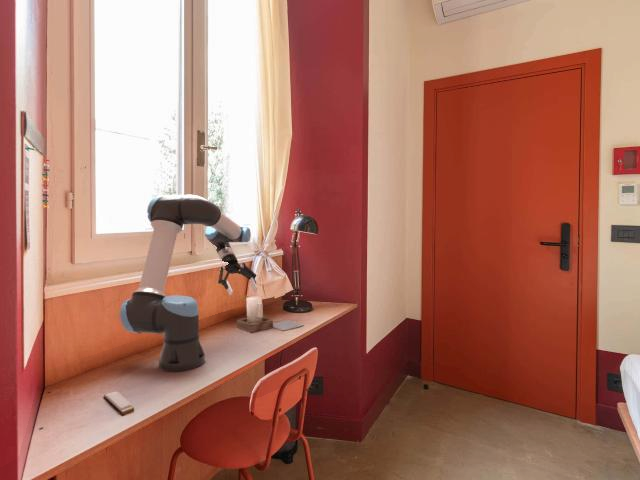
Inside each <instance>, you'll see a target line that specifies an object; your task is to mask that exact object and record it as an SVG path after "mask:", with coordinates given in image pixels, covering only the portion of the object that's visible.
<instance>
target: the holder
mask: <svg viewBox="0 0 640 480" xmlns="http://www.w3.org/2000/svg"><path fill="white" fill-rule="evenodd" d="M273 324H274V320H273V319H271V318H268V317H266V316H263V317H262V322H259V323H255V324H249V323H247V317H244V318H240V319H236V327H237V328H238V329H240V330H243V331H244V332H247V333H249V334H251V333H256V332H260V331H264V330H268V329H273Z"/></svg>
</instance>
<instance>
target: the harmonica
mask: <svg viewBox="0 0 640 480" xmlns="http://www.w3.org/2000/svg"><path fill="white" fill-rule="evenodd" d="M102 398H103V399H104V400H105V401H106V402H107V403H108V404H109V405H110V406H111V407H112V408H113V409H114V410H115V411H116V412H117V413H118V414H120V416H122V417H123V416H125V415H129V414H131V413H134V412H135V408H134V407H133V406H132V404H131V402H130V401H129V400H128V399H127V398H125V397H124V396H123V395H122V394H121V393H120V392H118V391H112V392H109V393H106V394H104V395H103V397H102Z"/></svg>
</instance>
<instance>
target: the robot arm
mask: <svg viewBox="0 0 640 480" xmlns="http://www.w3.org/2000/svg"><path fill="white" fill-rule="evenodd" d="M146 213H147V218H148V221H149V222H150V225H151V228H153V230H152V231H153V232H152V234H151V239H150V243H149V245H148V246H149V247H148V251H147V254H146V258H145V263H144V266H143V270H142V275H141V278H140V282H139V285H138V286H139V287H138V288H137V289H135V290H134V291H133V292H132V294H131V297H130V298H129V299H127V300H125V301H124V302H123V303H122V305H121V307H120V310H119V319H120V322H121V325H122V327H123V328H124V329H125V330H126V331H127V332H129V333H136V334H158V335H159V334H161V335H163V345H162V349H161V351H160V356H159V360H158V367H159V369H161V370H162V371H165V372H184V371H189V370H192V369H195V368H198V367H200V366H202V365H203V364H204V363H205V360H206V359H205V358H206V357H205V356H206V354H205V352H204V349H203V346H202V344H201V341H200V329H199V328H200V327H199V325H200V324H199V322H200V320H199V319H200V318H199V313H200V310H199V305H198V300H196V299H195V298H193V297H191V296H187V295H166V293H165V292H164V291H165V287H166V284H167V278H168V275H169V271H170V266H171V261H172V257H173V254H174V249H175V244H176V240H177V236H178V234H179V233H181V232H182V231H183V227H184V225H203V226H204V227H205V226H207V228H206V231H205V235H204V236H205V238H206V237H207V238H206V240H208V242H209V243H210V242H211V243H212V244H213V245H215V246H216V247H217V249H215V251H216V254H217V256H218V258H219V259H222V261H224V262H228V263H229V264H228V265H226V266H225V267H221V270H220V274H219V275H218V282H217V283H218V284H219V285H220V284H221V285H222V286H223V288H224V289H225V290H227V293H228V295H229V296H232V295H233V293H234V291H233V289H232V287H231V284H230V282H229V281H228V278H229V275H230V274H233V275H234V274H238V275H241V276H243V277H244V278H246V279H248V280H249V284H250V285H251V287H252V289H253V291H254V292H256V291H257V290H258V289H259V287H258V285H257V281H256V278H257V276H258V275H257V274H256V273H255V272H254V271H252V270H251V268H249V267H248V266H247V265H246V264H245V262H242V263H241V264H240V263H239V261H238V258H237V256H236V254H235V252H234V251H233V248H232V247H231V244H230V243H248V242H250V240H251V238H252V237H251V236H252V235H251V234H252V233H251V229H250V228H249V227H247V226H246V227H245V226H241V225H239V224H237V223H236V222H234V220H232V219H231V218H230V217H228V216H227V215H226V214H225V213H223V212H222V210H221V208H220V207H219V206H218V205H216V204H215V203H214V202H212V201H210V200H208V199H207V198H204V197H202V196H199V195H195V194H171V195H170V194H163V195H157V196H154V197H153V198H152V199H151V200H150V201H149V203H148V205H147V211H146ZM211 243H210V244H211ZM212 244H211V245H212ZM213 245H212V246H213ZM224 271H226V273H225V276H224ZM223 276H224V278H223Z"/></svg>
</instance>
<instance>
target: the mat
mask: <svg viewBox="0 0 640 480" xmlns="http://www.w3.org/2000/svg"><path fill="white" fill-rule="evenodd" d="M301 327H304V324H302V323H299V322H295V321H293V320H289V319H287V320H283V321H279V322H276V323H274V322H273V328H274V329H276V330H278V331H281V332H286V331H288V330H289V331H290V330H294V329H298V328H301ZM273 328H272V329H273Z"/></svg>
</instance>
